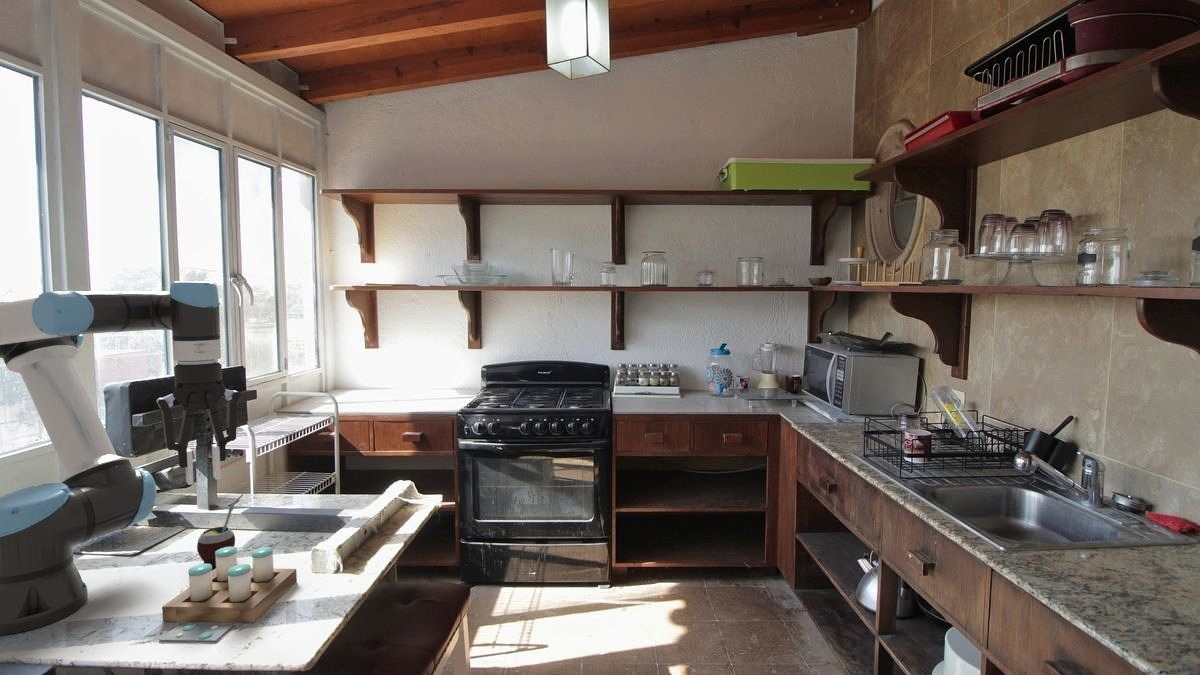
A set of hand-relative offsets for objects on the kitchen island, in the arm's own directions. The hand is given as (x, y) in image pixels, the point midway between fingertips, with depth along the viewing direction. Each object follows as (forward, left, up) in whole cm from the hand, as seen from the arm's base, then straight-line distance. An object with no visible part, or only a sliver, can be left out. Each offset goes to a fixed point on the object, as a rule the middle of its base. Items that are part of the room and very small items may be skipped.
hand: (203, 480), depth 112 cm
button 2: (+1, +4, -22) cm, 22 cm away
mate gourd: (-8, +15, -25) cm, 30 cm away
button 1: (+1, -4, -22) cm, 22 cm away
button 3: (+9, -4, -22) cm, 24 cm away
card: (+6, -11, -25) cm, 28 cm away
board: (+5, 0, -25) cm, 25 cm away
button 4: (+9, +4, -22) cm, 24 cm away
